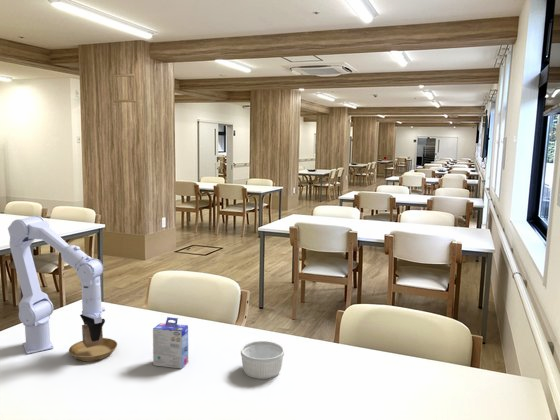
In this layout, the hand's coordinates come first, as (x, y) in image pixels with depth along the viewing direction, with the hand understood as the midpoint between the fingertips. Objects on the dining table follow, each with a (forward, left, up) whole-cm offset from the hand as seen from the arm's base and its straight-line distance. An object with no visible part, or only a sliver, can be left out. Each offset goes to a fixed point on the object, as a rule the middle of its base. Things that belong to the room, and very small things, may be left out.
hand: (93, 337), depth 153 cm
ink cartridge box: (+21, +18, -6) cm, 28 cm away
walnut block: (0, 0, -2) cm, 2 cm away
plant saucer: (0, 0, -6) cm, 6 cm away
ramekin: (+41, +39, -6) cm, 57 cm away
